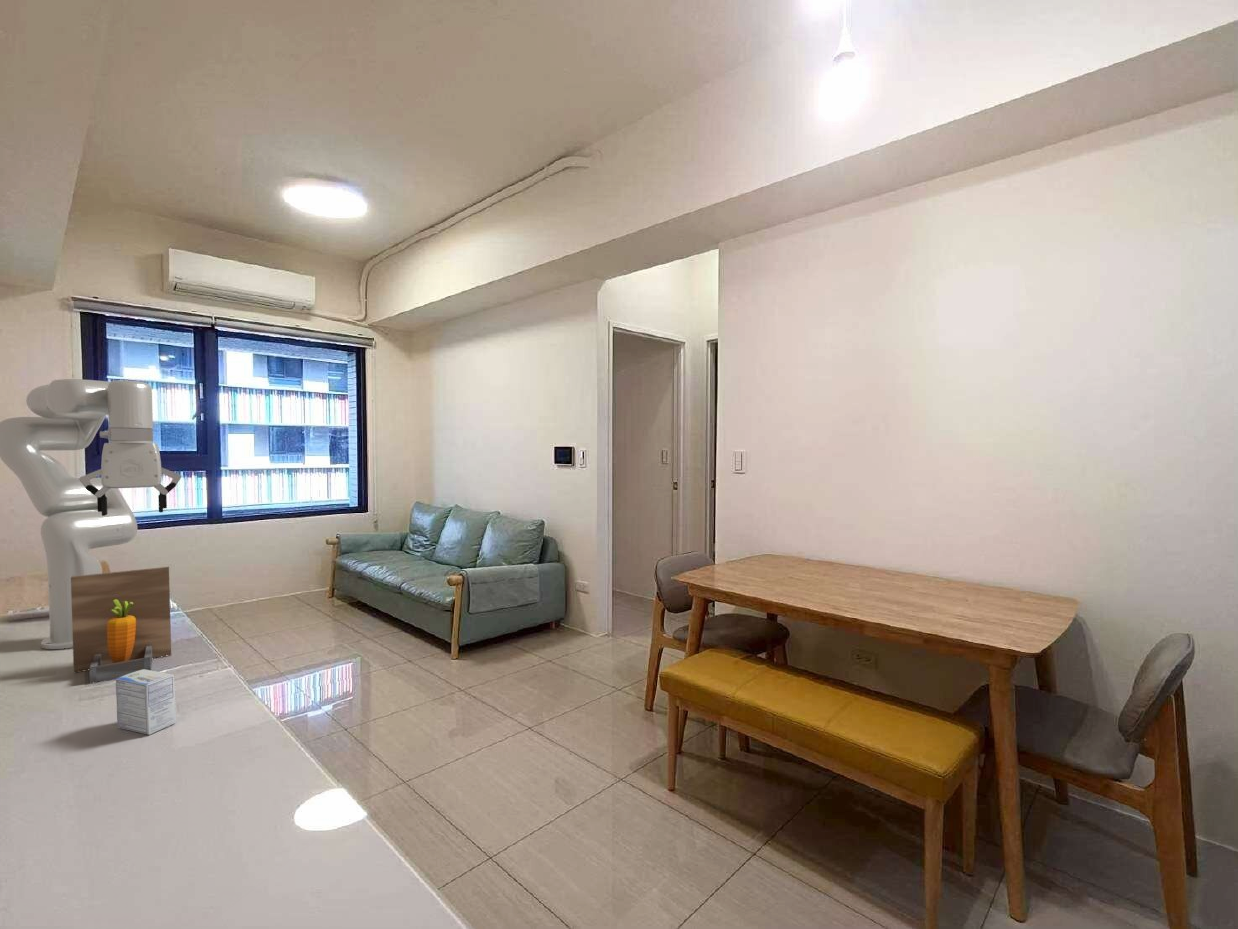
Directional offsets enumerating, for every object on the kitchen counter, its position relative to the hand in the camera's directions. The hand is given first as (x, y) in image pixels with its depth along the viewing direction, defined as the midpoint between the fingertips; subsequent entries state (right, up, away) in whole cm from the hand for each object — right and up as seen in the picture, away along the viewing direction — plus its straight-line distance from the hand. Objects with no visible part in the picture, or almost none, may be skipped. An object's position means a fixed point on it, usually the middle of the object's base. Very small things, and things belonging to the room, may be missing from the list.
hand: (133, 513), depth 128 cm
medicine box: (+29, -34, -31) cm, 54 cm away
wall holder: (+4, -33, -7) cm, 34 cm away
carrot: (+3, -33, -7) cm, 34 cm away
